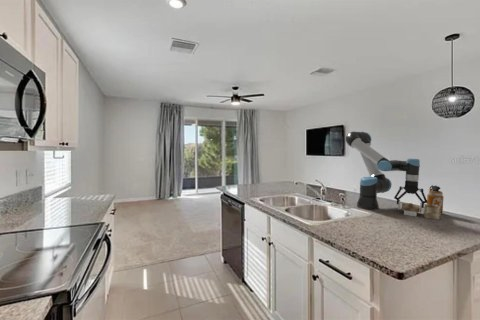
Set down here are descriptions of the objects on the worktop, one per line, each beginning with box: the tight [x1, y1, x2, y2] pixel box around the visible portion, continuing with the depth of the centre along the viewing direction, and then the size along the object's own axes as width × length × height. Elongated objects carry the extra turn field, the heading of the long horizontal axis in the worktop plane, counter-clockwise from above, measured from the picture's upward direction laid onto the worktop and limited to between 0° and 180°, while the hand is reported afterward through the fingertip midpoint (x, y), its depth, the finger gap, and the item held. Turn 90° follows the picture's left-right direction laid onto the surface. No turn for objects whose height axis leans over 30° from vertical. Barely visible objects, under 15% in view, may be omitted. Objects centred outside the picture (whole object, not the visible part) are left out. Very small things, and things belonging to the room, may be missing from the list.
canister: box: [426, 184, 444, 215], centre depth 172 cm, size 9×11×20 cm
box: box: [423, 203, 442, 220], centre depth 162 cm, size 8×11×7 cm
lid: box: [401, 202, 420, 213], centre depth 169 cm, size 10×13×4 cm
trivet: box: [403, 210, 418, 217], centre depth 169 cm, size 7×13×3 cm, turn 145°
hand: (409, 210), depth 170 cm, fingers open, 12 cm apart
